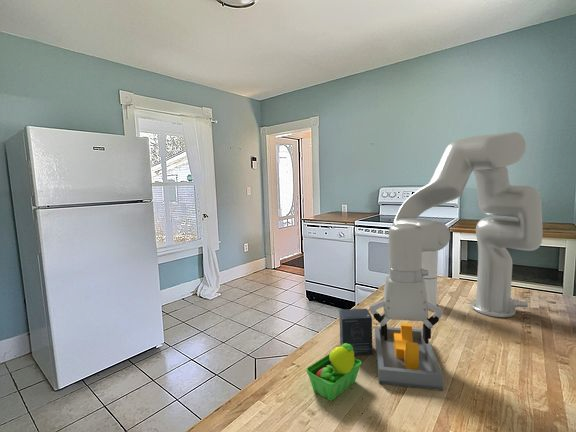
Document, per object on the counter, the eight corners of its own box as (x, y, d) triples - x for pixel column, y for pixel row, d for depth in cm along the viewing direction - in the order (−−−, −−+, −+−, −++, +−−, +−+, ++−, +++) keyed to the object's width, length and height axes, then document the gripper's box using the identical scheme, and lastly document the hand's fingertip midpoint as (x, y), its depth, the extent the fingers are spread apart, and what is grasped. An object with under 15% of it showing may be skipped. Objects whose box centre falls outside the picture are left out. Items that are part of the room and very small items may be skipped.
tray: (424, 341, 87) (424, 329, 86) (442, 390, 67) (443, 375, 67) (374, 337, 90) (374, 326, 89) (378, 383, 70) (378, 369, 70)
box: (367, 343, 87) (367, 307, 85) (372, 355, 81) (372, 317, 80) (339, 344, 87) (338, 308, 86) (343, 356, 81) (342, 318, 80)
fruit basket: (336, 367, 77) (335, 324, 75) (367, 384, 70) (367, 337, 69) (305, 390, 69) (303, 343, 67) (336, 411, 62) (335, 359, 61)
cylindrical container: (437, 303, 112) (439, 235, 108) (435, 310, 106) (436, 239, 102) (416, 299, 115) (417, 233, 112) (412, 306, 109) (413, 237, 106)
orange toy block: (393, 344, 84) (393, 321, 84) (410, 345, 84) (410, 323, 83) (398, 371, 73) (399, 345, 72) (418, 373, 72) (419, 347, 71)
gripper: (439, 270, 77) (438, 334, 80) (368, 268, 81) (369, 329, 84) (447, 280, 70) (446, 350, 72) (369, 278, 74) (370, 345, 76)
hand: (405, 339), depth 78 cm, fingers open, 9 cm apart
